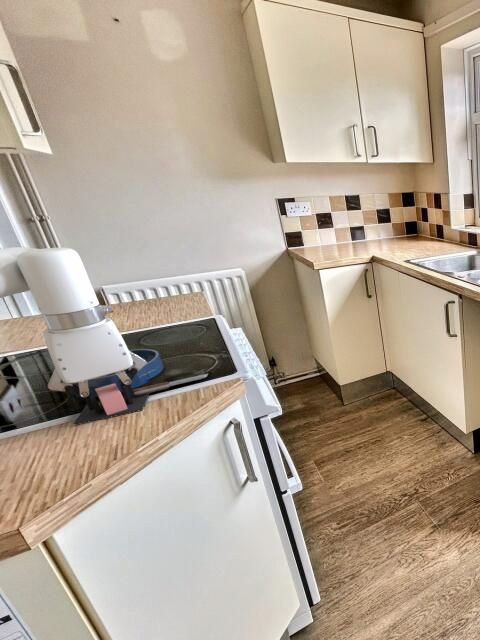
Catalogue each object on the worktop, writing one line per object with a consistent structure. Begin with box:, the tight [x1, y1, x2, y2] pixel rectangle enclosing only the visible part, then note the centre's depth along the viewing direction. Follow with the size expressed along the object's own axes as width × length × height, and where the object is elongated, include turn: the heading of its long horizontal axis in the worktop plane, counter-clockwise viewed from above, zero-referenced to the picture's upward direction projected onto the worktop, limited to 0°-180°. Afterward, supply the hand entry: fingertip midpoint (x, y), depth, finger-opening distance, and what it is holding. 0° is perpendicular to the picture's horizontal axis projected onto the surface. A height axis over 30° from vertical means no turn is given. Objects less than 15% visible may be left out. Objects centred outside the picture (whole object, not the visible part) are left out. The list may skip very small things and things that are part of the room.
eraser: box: [95, 383, 128, 415], centre depth 82 cm, size 3×6×4 cm, turn 49°
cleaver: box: [132, 373, 209, 396], centre depth 91 cm, size 13×2×5 cm
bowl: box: [63, 348, 165, 398], centre depth 93 cm, size 16×16×4 cm
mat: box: [72, 393, 151, 426], centre depth 83 cm, size 10×8×1 cm
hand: (114, 405), depth 83 cm, fingers open, 4 cm apart
